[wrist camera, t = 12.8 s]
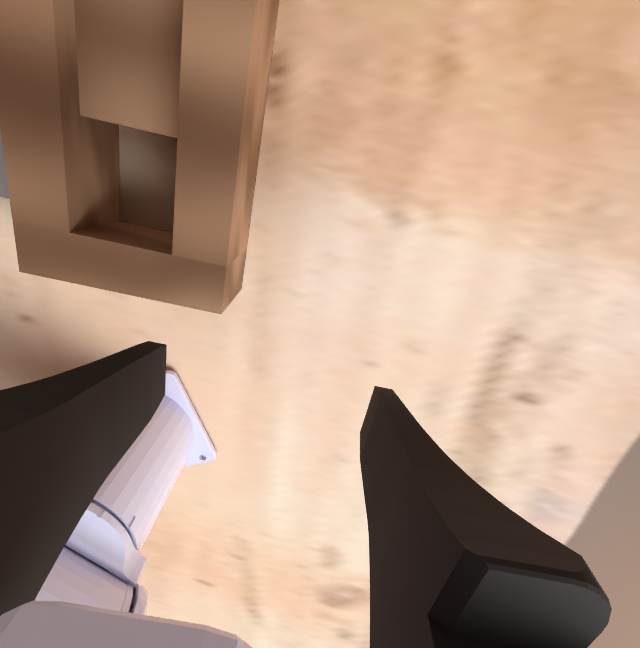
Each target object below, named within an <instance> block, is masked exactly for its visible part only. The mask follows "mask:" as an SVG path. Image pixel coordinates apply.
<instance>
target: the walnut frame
mask: <svg viewBox="0 0 640 648" xmlns="http://www.w3.org/2000/svg"><path fill="white" fill-rule="evenodd" d="M278 5H279V0H0V130H1V137H2V145H3V152H4V160H5V167H6V175H7V182H8V190H9V197H10V204H11V212H12V219H13V227H14V234H15V242H16V249H17V257H18V264H19V271H20V272H24V273H28V274H33V275H38V276H42V277H47V278H52V279H57V280H61V281H66V282H71V283H76V284H80V285H85V286H90V287H95V288H99V289H104V290H109V291H113V292H118V293H123V294H128V295H132V296H137V297H142V298H147V299H151V300H156V301H161V302H166V303H170V304H175V305H180V306H185V307H189V308H194V309H199V310H203V311H208V312H213V313H218V314H222V313H223V311H224V310H225V309H226V308H227V306H228V305H229V304H230V303H231V301H232V300H233V299H234V298H235V296H236V295H237V294H238V293H239V291H240V290H241V289H242V281H243V273H244V266H245V258H246V250H247V243H248V235H249V227H250V220H251V212H252V204H253V197H254V189H255V181H256V174H257V166H258V158H259V151H260V143H261V135H262V128H263V120H264V112H265V105H266V97H267V89H268V82H269V74H270V66H271V59H272V51H273V43H274V36H275V28H276V20H277V13H278ZM118 124H119V125H123V126H127V127H132V128H136V129H140V130H144V131H149V132H153V133H157V134H161V135H166V136H170V137H174V138H177V156H176V179H175V201H174V223H173V233H172V232H167V231H163V230H158V229H154V228H149V227H145V226H140V225H136V224H131V223H127V222H122V221H120V198H119V131H118Z"/></svg>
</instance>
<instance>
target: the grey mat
mask: <svg viewBox="0 0 640 648" xmlns="http://www.w3.org/2000/svg"><path fill="white" fill-rule="evenodd" d="M0 196H1V197H5V198H10V197H9V190H8V182H7V175H6V167H5V160H4V152H3V145H2V137H1V130H0Z"/></svg>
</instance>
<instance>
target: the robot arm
mask: <svg viewBox="0 0 640 648" xmlns="http://www.w3.org/2000/svg"><path fill="white" fill-rule="evenodd" d="M202 455H204V456H205V457H204V456H202ZM216 455H217V452H216V450H215V448H214V446H213V444H212V442H211V440H210V438H209V436H208V435H207V433H206V431H205V429H204V427H203V425H202V423H201V421H200V419H199V417H198V415H197V413H196V411H195V409H194V407H193V405H192V403H191V401H190V399H189V397H188V395H187V393H186V391H185V389H184V387H183V385H182V383H181V382H180V380H179V378H178V376H177V374H176V373H175V372H174V371H171V370H166V345H165V344H160V343H155V342H150V341H148V342H144V343H141V344H138V345H136V346H133V347H130V348H128V349H125V350H123V351H120V352H118V353H115V354H113V355H110V356H107V357H105V358H102V359H100V360H97V361H95V362H92V363H89V364H86V365H84V366H81V367H78V368H75V369H72V370H69V371H66V372H63V373H61V374H58V375H55V376H51V377H48V378H45V379H42V380H38V381H35V382H31V383H27V384H24V385H20V386H16V387H12V388H8V389H4V390H0V648H252V647H251V646H249V645H248V644H247V643H246V642H244V641H243V640H242V639H241V638H239V637H238V636H237V635H235V634H232V633H229V632H226V631H222V630H219V629H216V628H213V627H210V626H206V625H200V624H194V623H188V622H182V621H177V620H171V619H165V618H159V617H153V616H147V615H146V606H147V592H146V589H145V588H144V587H143V586H142V585H140V584H138V583H137V581H138V579H139V576H140V574H141V572H142V570H143V568H144V566H145V564H146V562H147V559H146V558H145V557H143V556H142V555H141V554H140V553H139V552H140V550H141V548H142V546H143V544H144V542H145V540H146V538H147V536H148V534H149V532H150V530H151V528H152V526H153V524H154V522H155V520H156V519H157V517H158V515H159V513H160V511H161V509H162V507H163V505H164V503H165V501H166V499H167V497H168V495H169V493H170V491H171V489H172V487H173V485H174V483H175V482H176V480H177V478H178V476H179V474H180V472H181V470H182V468H183V467H184V466H189V465H194V464H199V463H204V462H209V461H213V460H214V459H215V458H216ZM360 463H361V471H362V480H363V488H364V496H365V504H366V512H367V520H368V531H369V557H370V648H587V647H588V646H589V645H590V644H591V643H592V642H593V641H594V640H595V639H596V638H597V637H598V636H599V635H600V634H601V633H602V631H603V630H604V628H605V627H606V626H607V624H608V622H609V618H610V614H611V606H610V602H609V599H608V597H607V596H606V594H605V593H604V591H603V589H602V588H601V586H600V585H599V583H598V581H597V580H596V578H595V577H594V575H593V573H592V572H591V570H590V569H589V567H588V565H587V564H586V562H585V561H584V559H583V558H582V556H581V555H579V554H577V553H576V552H574V551H573V550H571V549H569V548H568V547H566V546H565V545H563V544H561V543H560V542H558V541H557V540H555V539H553V538H552V537H550V536H549V535H547V534H545V533H544V532H542V531H541V530H539V529H537V528H536V527H534V526H533V525H532V524H530V523H529V522H527V521H526V520H524V519H523V518H522V517H520V516H519V515H517V514H516V513H514V512H513V511H512V510H510V509H509V508H508V507H506V506H505V505H504V504H502V503H501V502H500V501H498V500H497V499H496V498H494V497H493V496H492V495H491V494H490V493H488V492H487V491H486V490H485V489H483V488H482V487H481V486H480V485H479V484H477V483H476V482H475V481H474V480H473V479H472V478H470V477H469V476H468V475H467V474H466V473H465V472H464V471H463V470H462V469H461V468H460V467H459V466H457V465H456V464H455V463H454V462H453V461H452V460H451V459H450V458H449V457H448V456H447V455H446V454H445V453H444V452H443V451H442V449H441V448H440V447H439V446H438V445H437V444H436V443H435V442H434V441H433V440H432V439H431V437H430V436H429V435H428V434H427V433H426V432H425V430H424V429H423V428H422V427H421V426H420V424H419V423H418V422H417V421H416V419H415V418H414V417H413V416H412V414H411V413H410V412H409V410H408V409H407V408H406V406H405V405H404V404H403V403H402V401H401V400H400V399H399V397H398V396H397V395H396V394H395V392H394V391H393V390H392V389H387V388H382V387H377V386H375V387H374V391H373V394H372V397H371V400H370V403H369V406H368V409H367V413H366V416H365V419H364V422H363V425H362V428H361V431H360Z"/></svg>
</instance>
